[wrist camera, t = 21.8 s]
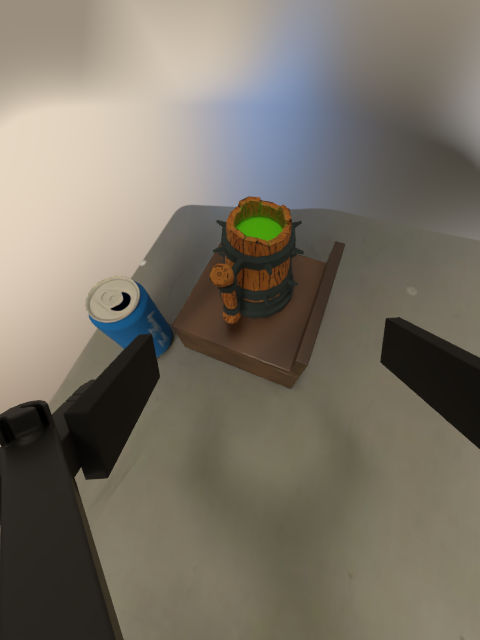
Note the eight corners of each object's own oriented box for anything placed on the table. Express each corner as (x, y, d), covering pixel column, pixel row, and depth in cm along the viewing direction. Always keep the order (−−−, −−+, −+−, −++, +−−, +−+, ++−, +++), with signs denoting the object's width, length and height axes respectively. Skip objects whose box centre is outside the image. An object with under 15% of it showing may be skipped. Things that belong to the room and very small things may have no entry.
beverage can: (160, 367, 36) (122, 334, 25) (121, 352, 37) (68, 314, 26) (181, 328, 38) (154, 282, 28) (143, 315, 39) (104, 266, 29)
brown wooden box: (184, 346, 37) (161, 310, 27) (229, 264, 43) (223, 210, 33) (290, 388, 34) (307, 365, 24) (321, 293, 40) (345, 243, 30)
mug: (239, 245, 36) (235, 163, 26) (308, 271, 34) (334, 193, 23) (189, 318, 31) (159, 254, 21) (265, 355, 29) (274, 304, 18)
